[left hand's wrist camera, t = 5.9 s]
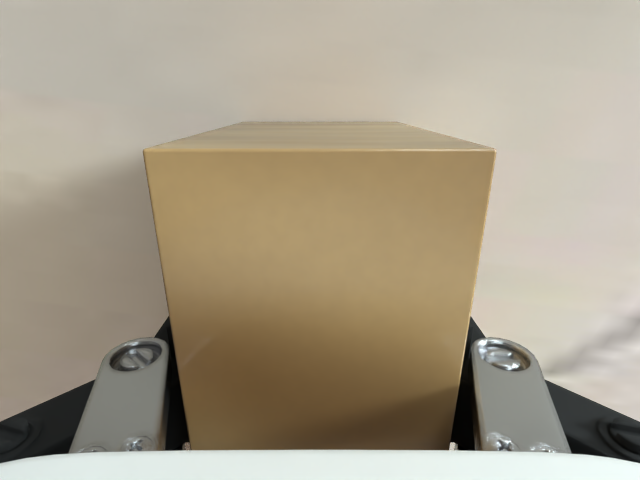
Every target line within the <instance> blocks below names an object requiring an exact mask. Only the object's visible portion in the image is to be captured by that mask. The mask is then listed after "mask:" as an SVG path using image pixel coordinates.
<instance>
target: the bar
mask: <svg viewBox="0 0 640 480" xmlns="http://www.w3.org/2000/svg"><path fill="white" fill-rule="evenodd" d="M143 155H144V162H145V168H146V174H147V180H148V187H149V193H150V199H151V205H152V212H153V218H154V224H155V230H156V236H157V243H158V249H159V255H160V261H161V268H162V274H163V280H164V286H165V293H166V299H167V305H168V311H169V318H170V324H171V330H172V336H173V342H174V349H175V355H176V361H177V367H178V374H179V380H180V386H181V392H182V399H183V405H184V411H185V417H186V424H187V430H188V436H189V442H190V448H191V450H449V446H450V440H451V434H452V427H453V421H454V415H455V409H456V402H457V396H458V390H459V384H460V377H461V371H462V365H463V359H464V352H465V346H466V340H467V334H468V327H469V321H470V315H471V309H472V302H473V296H474V290H475V284H476V277H477V271H478V265H479V259H480V252H481V246H482V240H483V233H484V227H485V221H486V215H487V208H488V202H489V196H490V190H491V183H492V177H493V171H494V165H495V158H496V149H494V148H490V147H487V146H483V145H479V144H476V143H472V142H468V141H465V140H461V139H457V138H454V137H450V136H446V135H443V134H439V133H436V132H432V131H428V130H425V129H421V128H417V127H414V126H410V125H406V124H403V123H399V122H241V123H237V124H233V125H230V126H226V127H222V128H219V129H215V130H211V131H208V132H204V133H201V134H197V135H193V136H190V137H186V138H182V139H179V140H175V141H171V142H168V143H164V144H160V145H157V146H153V147H149V148H146V149H144V150H143Z"/></svg>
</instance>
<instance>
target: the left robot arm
mask: <svg viewBox="0 0 640 480" xmlns="http://www.w3.org/2000/svg"><path fill="white" fill-rule="evenodd" d="M185 442H189V436H188V430H187V424H186V417H185V411H184V405H183V399H182V392H181V386H180V380H179V374H178V367H177V361H176V355H175V349H174V342H173V336H172V330H171V324H170V318H169V317H168V318H167V320H166V321H165V323H164V324H163V325H162V327H161V328H160V330H159V331H158V333H157V334H156V335H155V337H154V338H152V337H147V338H139V339H134V340H130V341H128V342H125V343H123V344H120V345H119V346H117V347H115V348H114V349H112V350H111V351H110V352H109V353H108V354H107V355H106V356H105V358H104V359H103V361H102V363H101V366H100V369H99V371H98V374H97V377H96V379H95V380H93V381H91V382H89V383H86V384H84V385H82V386H80V387H77V388H75V389H73V390H71V391H68V392H66V393H64V394H62V395H59V396H57V397H55V398H53V399H50V400H48V401H46V402H44V403H41V404H39V405H37V406H35V407H32V408H30V409H28V410H26V411H24V412H21V413H19V414H17V415H15V416H12V417H10V418H8V419H6V420H3V421H1V422H0V480H640V422H639V421H636V420H634V419H632V418H630V417H627V416H625V415H623V414H621V413H618V412H616V411H614V410H612V409H610V408H607V407H605V406H603V405H601V404H598V403H596V402H594V401H592V400H589V399H587V398H585V397H583V396H580V395H578V394H576V393H574V392H571V391H569V390H567V389H565V388H562V387H560V386H558V385H556V384H553V383H551V382H549V381H547V380H545V379H544V377H543V374H542V371H541V369H540V366H539V363H538V361H537V359H536V358H535V356H534V355H533V354H532V353H531V352H530V351H529V350H528V349H526V348H525V347H523V346H521V345H520V344H517V343H515V342H512V341H510V340H506V339H501V338H493V337H488V338H486V337H485V336H484V334H483V333H482V332H481V330H480V329H479V327H478V326H477V324H476V323H475V322H474V320H473V319H472V317H471V316H470V321H469V327H468V334H467V340H466V346H465V352H464V359H463V365H462V371H461V377H460V384H459V390H458V396H457V402H456V409H455V415H454V421H453V427H452V434H451V440H450V442H454V443H455V449H454V450H186V449H185Z"/></svg>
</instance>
